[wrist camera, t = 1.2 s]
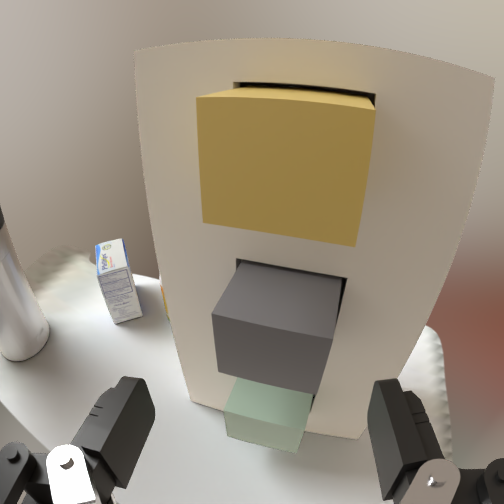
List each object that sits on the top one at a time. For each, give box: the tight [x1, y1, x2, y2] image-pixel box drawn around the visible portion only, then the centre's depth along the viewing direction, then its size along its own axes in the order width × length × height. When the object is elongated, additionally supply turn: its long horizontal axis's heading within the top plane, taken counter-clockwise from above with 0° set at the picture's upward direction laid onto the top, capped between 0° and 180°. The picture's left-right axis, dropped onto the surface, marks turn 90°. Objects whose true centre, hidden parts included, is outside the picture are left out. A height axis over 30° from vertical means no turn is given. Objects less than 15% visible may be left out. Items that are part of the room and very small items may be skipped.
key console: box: [134, 38, 495, 440], centre depth 24 cm, size 18×8×32 cm, turn 73°
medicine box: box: [95, 239, 143, 324], centre depth 42 cm, size 8×4×9 cm, turn 26°
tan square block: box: [196, 85, 376, 247], centre depth 13 cm, size 6×6×5 cm
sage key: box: [223, 377, 313, 453], centre depth 24 cm, size 6×6×5 cm
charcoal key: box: [211, 259, 342, 395], centre depth 19 cm, size 6×6×5 cm
